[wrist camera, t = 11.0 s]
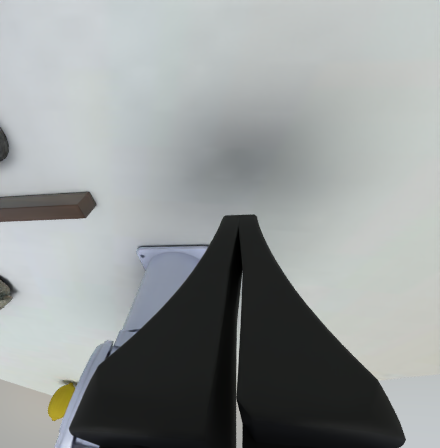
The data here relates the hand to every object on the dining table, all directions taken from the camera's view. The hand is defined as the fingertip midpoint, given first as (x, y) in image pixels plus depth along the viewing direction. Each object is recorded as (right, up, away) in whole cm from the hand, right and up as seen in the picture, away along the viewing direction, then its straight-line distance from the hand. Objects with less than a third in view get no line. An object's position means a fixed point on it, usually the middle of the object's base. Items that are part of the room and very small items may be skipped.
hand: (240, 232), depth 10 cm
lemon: (-41, -42, +53) cm, 79 cm away
